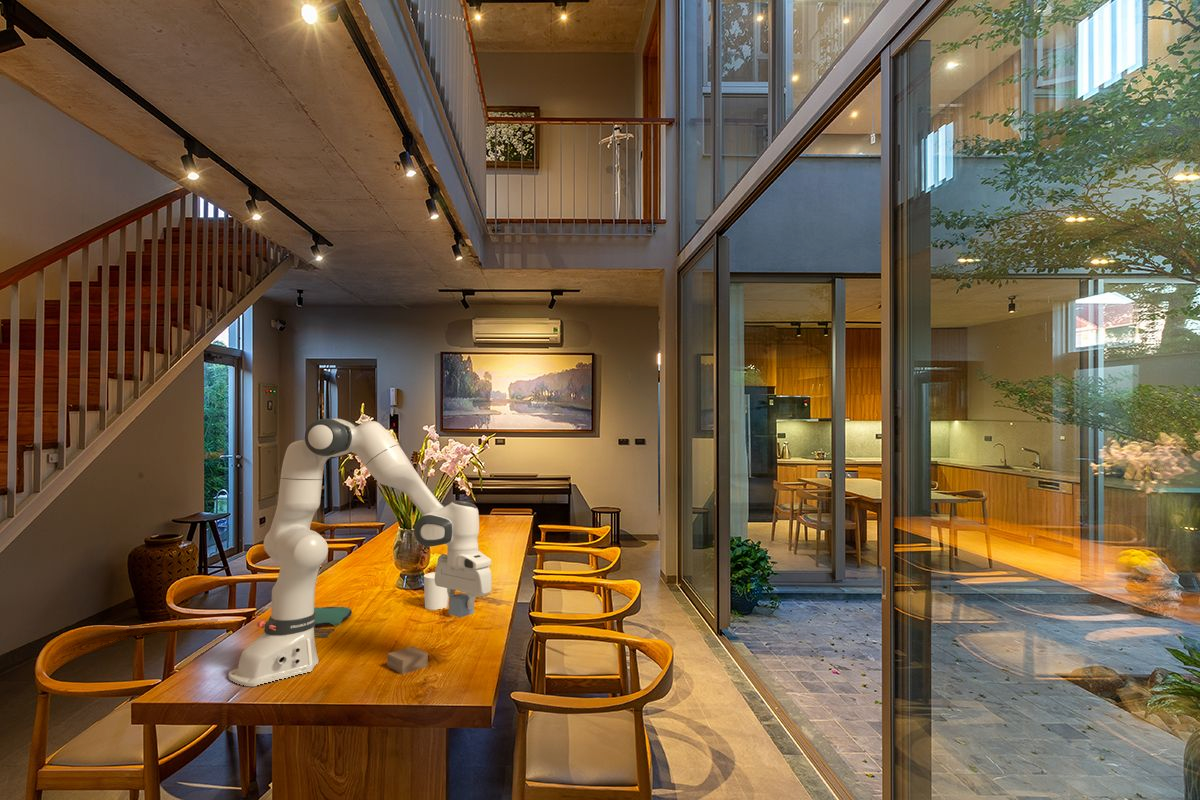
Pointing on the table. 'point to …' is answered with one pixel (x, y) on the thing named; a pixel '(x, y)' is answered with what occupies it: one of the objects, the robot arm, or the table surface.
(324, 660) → the table surface
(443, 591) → the candle holder
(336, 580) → the table surface
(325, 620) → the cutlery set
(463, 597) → the block
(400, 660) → the walnut base
